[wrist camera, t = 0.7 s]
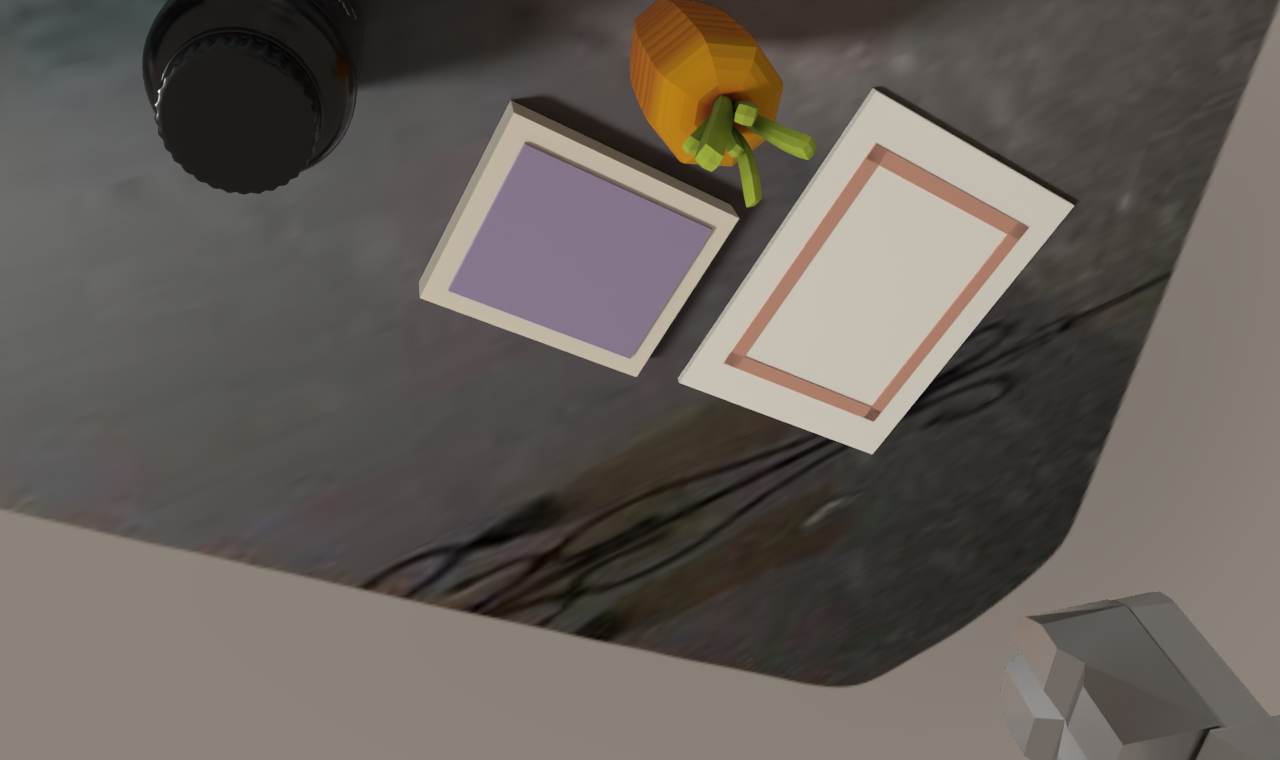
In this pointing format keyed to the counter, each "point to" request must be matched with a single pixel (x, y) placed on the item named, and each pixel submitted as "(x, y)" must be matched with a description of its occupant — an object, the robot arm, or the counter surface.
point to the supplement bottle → (253, 86)
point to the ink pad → (574, 243)
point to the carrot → (709, 89)
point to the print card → (874, 278)
